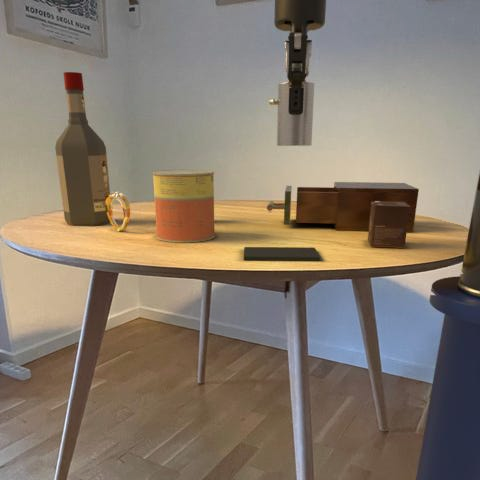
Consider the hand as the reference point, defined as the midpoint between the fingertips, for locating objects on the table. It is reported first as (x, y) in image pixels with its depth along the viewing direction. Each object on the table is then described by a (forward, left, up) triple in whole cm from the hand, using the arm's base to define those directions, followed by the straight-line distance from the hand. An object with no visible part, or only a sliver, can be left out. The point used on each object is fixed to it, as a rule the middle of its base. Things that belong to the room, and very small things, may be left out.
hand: (296, 115), depth 74 cm
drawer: (+12, -21, -20) cm, 32 cm away
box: (-11, -14, -22) cm, 28 cm away
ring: (+34, +13, -22) cm, 42 cm away
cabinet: (+1, -30, -21) cm, 36 cm away
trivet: (-3, +6, -21) cm, 22 cm away
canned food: (+20, +7, -22) cm, 30 cm away
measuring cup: (0, 0, -5) cm, 5 cm away
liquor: (+48, +12, -22) cm, 54 cm away
